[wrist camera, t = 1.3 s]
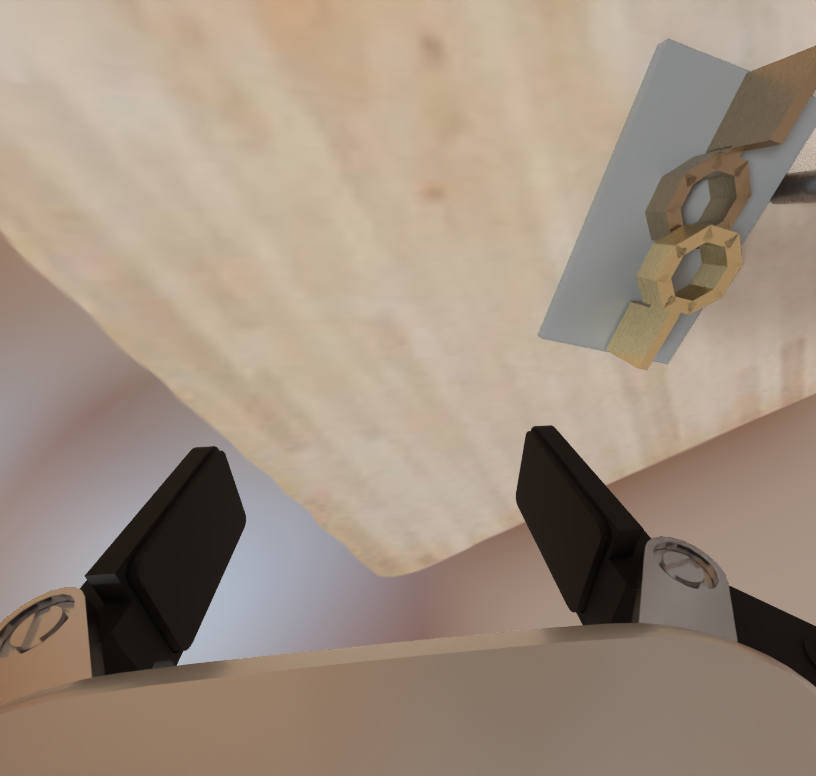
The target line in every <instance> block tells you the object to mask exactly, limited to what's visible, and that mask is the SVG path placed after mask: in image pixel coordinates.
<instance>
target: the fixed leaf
mask: <svg viewBox="0 0 816 776" xmlns="http://www.w3.org/2000/svg"><path fill="white" fill-rule="evenodd" d="M815 88H816V46H814V47H811V48H809V49H806V50H804V51H801V52H799V53H796V54H794V55H791V56H789V57H786V58H784V59H781V60H779V61H776V62H774V63H771V64H768V65H766V66H763V67H761V68H758V69H756V70H753V71H751V72H748V73H746V75H745V77H744V79H743V81H742V83H741V85H740V87H739V89H738V91H737V92H736V94H735V96H734V98H733V100H732V102H731V104H730V106H729V108H728V110H727V112H726V114H725V116H724V118H723V120H722V122H721V123H720V125H719V127H718V129H717V131H716V133H715V135H714V137H713V139H712V141H711V143H710V145H709V147H708V149H707V151H706V152H705V153H706V154H704V155H699V156H694V157H692V158H691V159H689V160H687V161H686V162H684V163H683V164H681V165H680V166H678V167H676V168H675V169H673V170H672V171H670V172H669V173H667V174H665V175H664V176H662V177H661V179H660V181H659V184H658V186H657V188H656V190H655V192H654V194H653V196H652V198H651V200H650V202H649V204H648V206H647V208H646V211H645V215H646V219H647V224H648V228H649V232H650V236H651V240H652V241H658V240H659V239H661V238H663V237H665V236H666V235H668V234H670V233H671V232H673V231H675V230H676V229H678V228H680V227H681V226H683V220H682V215H681V209H680V208H681V206H682V205H683V203H684V201H685V199H686V197H687V195H688V193H689V191H690V189H691V187H692V185H693V184H694V183H696V182H697V181H699V180H700V179H702V178H706V179H708V186H709V193H710V201H709V203H708V205H707V206H706V208H705V210H704V212H703V214H702V215H701V217H700V219H699V221H698V222H696V223H695V224H694V225H713V226H716V227H720V228H723V229H727V230H731V228H732V227H733V225H734V223H735V221H736V220H737V218H738V216H739V215H740V213H741V211H742V210H743V208H744V206H745V205H746V203H747V201H748V200H749V198H750V196H751V184H750V173H749V162H748V161H747V160H744V159H741V158H739V157H740V155H741V153H742V152H743V151H748V150H754V149H759V148H764V147H770V146H775V145H780V144H783V142H784V140H785V139H786V137H787V135H788V134H789V132H790V130H791V129H792V127H793V125H794V124H795V122H796V120H797V119H798V117H799V115H800V114H801V112H802V110H803V109H804V107H805V105H806V103H807V102H808V100H809V98H810V97H811V95H812V93H813V92H814V90H815ZM695 249H699V247H697V248H695Z"/></svg>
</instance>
